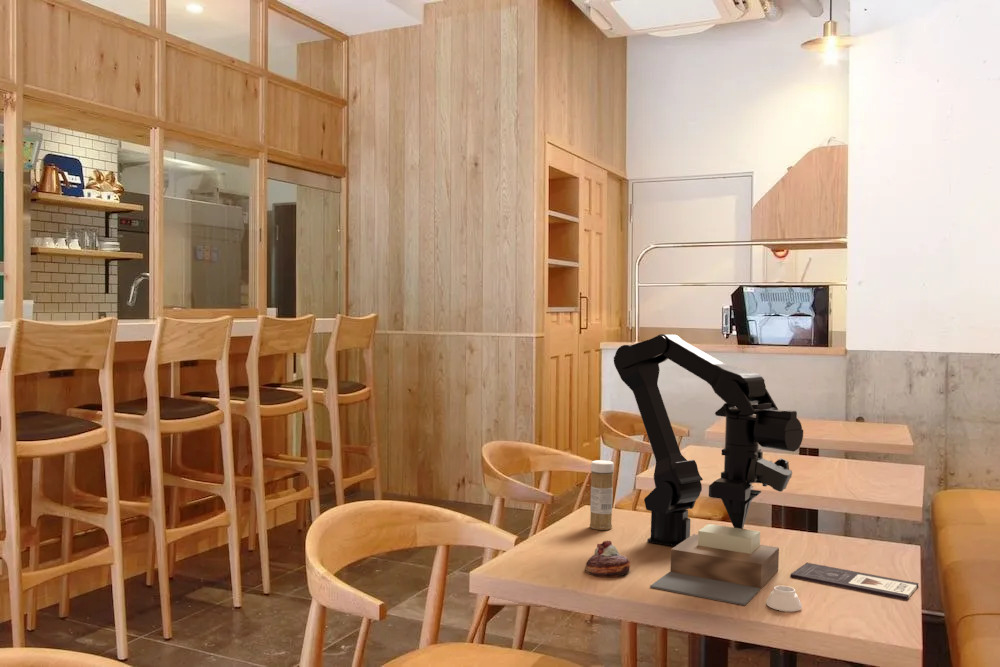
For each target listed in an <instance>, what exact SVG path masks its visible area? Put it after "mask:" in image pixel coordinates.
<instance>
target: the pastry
mask: <svg viewBox="0 0 1000 667" xmlns="http://www.w3.org/2000/svg"><path fill="white" fill-rule="evenodd" d="M630 567H631V562H630V560H629V559H628V557H627V556H625V555H624V554H623V555H622V554H620V553H619V551H618V549H617V548H616V546H615V545H613V544H612V541H611V540H605V541H602V542H601V543H597V546H596V548H595V549H594V554H593V555H592V556H591V557H589V559H587V561H586V563H585V572H586V573H588V574H589V575H592V576H594V577H600V578H617V577H621V576H622V577H623V576H625V575H626V574H628V573H629V572H630V569H631V568H630Z"/></svg>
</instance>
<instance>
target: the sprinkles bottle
mask: <svg viewBox="0 0 1000 667" xmlns="http://www.w3.org/2000/svg"><path fill="white" fill-rule="evenodd" d="M614 466H615V463H614V462H613V461H610V460H605V459H600V460H599V459H598V460H597V459H596V460H592V461H591V463H590V472H591V478H590V480H591V482H590V484H591V485H590V506H589V507H590V516H589V517H590V520H589V521H590V523H589V527H590V528H591V529H592V530H597V531H607V530H608V531H609V530H611V529H612V527H613V525H612V521H613V520H612V516H613V515H612V513H613V494H614V493H613V491H614V490H613V488H614V487H613V482H614V481H613V479H614V478H613V477H614V476H613V475H614V472H615V471H614V468H615V467H614Z"/></svg>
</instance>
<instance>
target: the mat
mask: <svg viewBox="0 0 1000 667" xmlns="http://www.w3.org/2000/svg"><path fill="white" fill-rule="evenodd" d="M649 586H650V587H649V588H651V589H656V590H661V591H667V592H672V593H677V594H682V595H687V596H692V597H697V598H702V599H703V598H704V599H707V600H714V601H719V602H723V603H727V604H728V603H730V604H734V605H738V604H739V606H746V605H747V604H748V603H749V602H750V601H752V599H753V598H754V597H755V596H756V595H757V594H758V593H759V592H758V591H760V590H761V589H760V588H757V587H751V586H746V585H740V584H735V583H729V582H724V581H718V580H713V579H707V578H702V577H696V576H690V575H685V574H679V573H674V572H670V571H668V572H667V573H666V574H664V575H663V576H661V577H660V578H659V579H658V580H656V581H655V582H653V583H652V584H650V585H649ZM757 592H758V593H757ZM755 594H756V595H755ZM754 595H755V596H754Z"/></svg>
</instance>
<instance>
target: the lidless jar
mask: <svg viewBox="0 0 1000 667" xmlns="http://www.w3.org/2000/svg"><path fill="white" fill-rule="evenodd" d="M766 606H768V607H769V608H771V609H773V610H775V611H778V610H779V612H784V611H786V612H785V613H793V612H797V611H800V610H802V608H803V607H802V606H803V605H802V602H801V600H800V598H799V596H798V594H797V593H796V589H795V588H794V587H792V586H788V585H775V586H774V587H773V590H772V591H771V592H770V594H769V595H768V597H767V599H766Z"/></svg>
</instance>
